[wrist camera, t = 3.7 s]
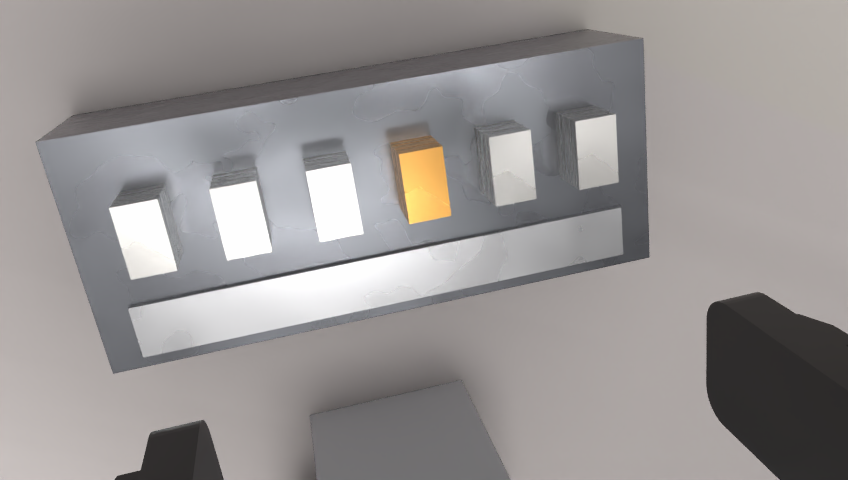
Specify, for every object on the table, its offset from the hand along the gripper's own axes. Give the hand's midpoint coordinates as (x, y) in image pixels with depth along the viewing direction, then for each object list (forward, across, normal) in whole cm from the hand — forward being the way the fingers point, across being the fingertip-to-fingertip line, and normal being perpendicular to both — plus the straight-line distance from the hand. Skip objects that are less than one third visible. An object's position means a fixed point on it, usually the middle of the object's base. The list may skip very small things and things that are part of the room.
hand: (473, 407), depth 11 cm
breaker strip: (+15, 0, 0) cm, 15 cm away
